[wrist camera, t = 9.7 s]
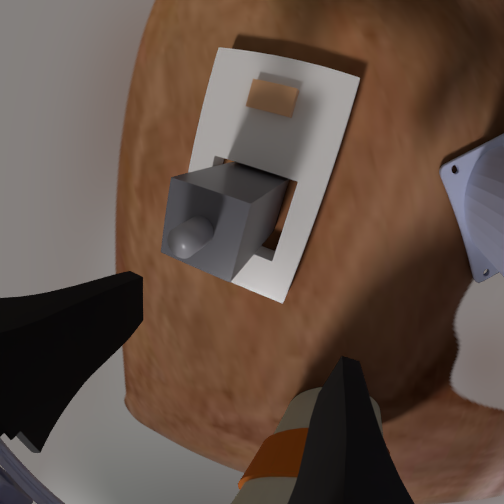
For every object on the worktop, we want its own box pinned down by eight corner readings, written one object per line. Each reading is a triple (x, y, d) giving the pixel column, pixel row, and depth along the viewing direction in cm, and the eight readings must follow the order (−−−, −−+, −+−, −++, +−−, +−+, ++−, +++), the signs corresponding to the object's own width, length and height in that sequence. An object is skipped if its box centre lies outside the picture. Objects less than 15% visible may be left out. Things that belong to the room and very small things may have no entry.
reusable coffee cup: (246, 383, 24) (170, 522, 11) (385, 356, 19) (370, 556, 6) (297, 450, 27) (256, 559, 14) (406, 435, 21) (393, 566, 8)
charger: (235, 161, 17) (148, 183, 10) (289, 178, 16) (235, 214, 9) (223, 212, 19) (140, 265, 11) (273, 231, 18) (214, 300, 11)
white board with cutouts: (229, 53, 14) (214, 44, 13) (359, 83, 13) (360, 75, 11) (185, 249, 21) (169, 260, 19) (287, 292, 19) (280, 308, 17)
